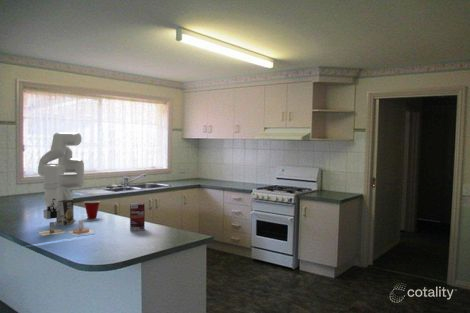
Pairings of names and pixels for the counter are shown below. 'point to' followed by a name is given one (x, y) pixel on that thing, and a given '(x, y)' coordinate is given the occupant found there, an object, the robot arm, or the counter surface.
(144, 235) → the counter surface
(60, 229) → the rod stand
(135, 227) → the supplement box
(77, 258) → the counter surface
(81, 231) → the hub
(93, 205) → the plastic cup
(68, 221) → the coffee box
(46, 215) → the collar
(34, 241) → the counter surface
